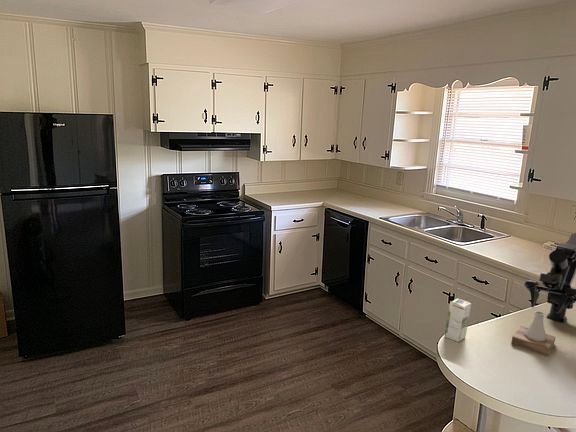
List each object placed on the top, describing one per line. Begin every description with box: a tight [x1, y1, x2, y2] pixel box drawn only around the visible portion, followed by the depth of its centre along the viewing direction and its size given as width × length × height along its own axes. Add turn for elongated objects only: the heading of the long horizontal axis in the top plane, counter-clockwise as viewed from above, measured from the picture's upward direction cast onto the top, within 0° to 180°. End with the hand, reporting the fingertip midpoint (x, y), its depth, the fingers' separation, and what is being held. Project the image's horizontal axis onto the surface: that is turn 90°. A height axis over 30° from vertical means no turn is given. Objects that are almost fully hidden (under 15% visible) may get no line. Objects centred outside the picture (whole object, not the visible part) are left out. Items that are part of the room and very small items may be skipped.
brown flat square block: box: [510, 325, 556, 357], centre depth 167 cm, size 12×12×3 cm
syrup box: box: [444, 298, 472, 343], centre depth 167 cm, size 6×6×14 cm
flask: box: [524, 310, 547, 342], centre depth 165 cm, size 7×7×10 cm
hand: (544, 310), depth 171 cm, fingers open, 9 cm apart
